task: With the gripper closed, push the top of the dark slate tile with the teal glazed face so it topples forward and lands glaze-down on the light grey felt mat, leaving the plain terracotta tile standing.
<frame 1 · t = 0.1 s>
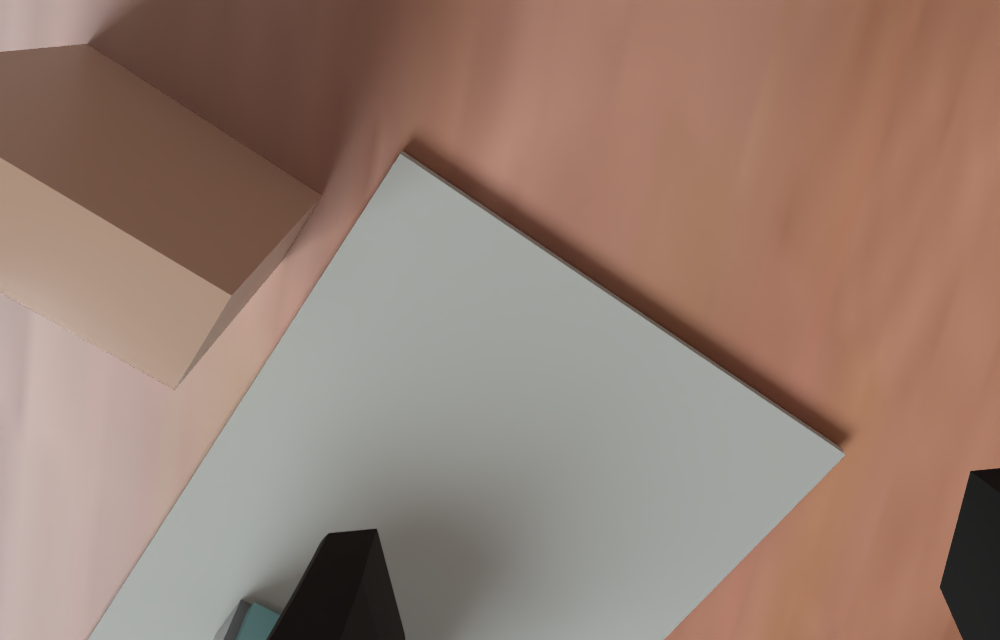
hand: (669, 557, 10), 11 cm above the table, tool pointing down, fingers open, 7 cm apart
plain tile: (189, 158, 18), on the table
felt mat: (423, 574, 23), on the table
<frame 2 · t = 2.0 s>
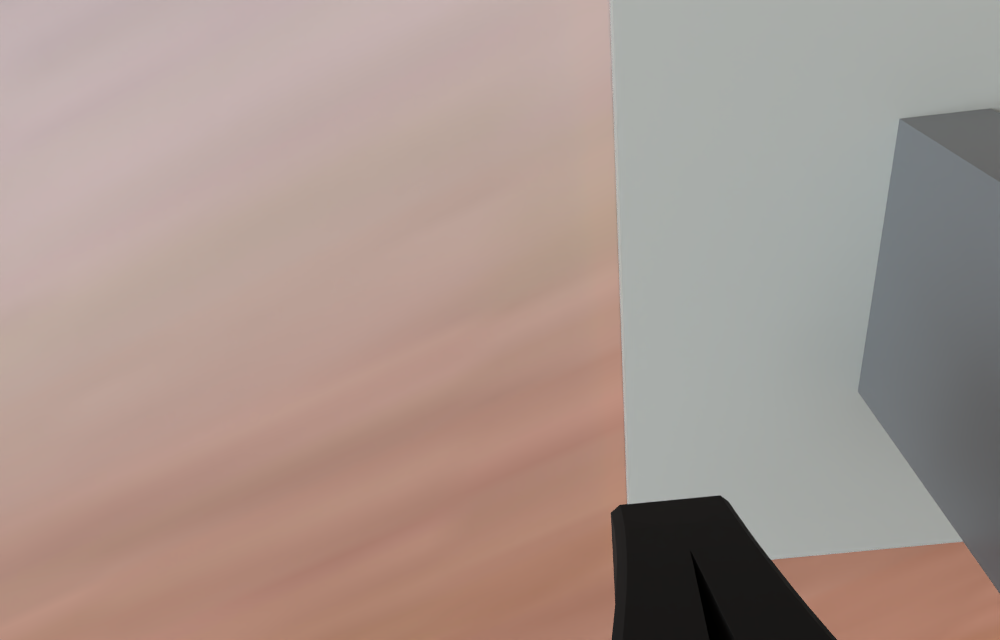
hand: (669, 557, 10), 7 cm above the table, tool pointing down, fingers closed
glazed tile: (927, 263, 15), resting on felt mat
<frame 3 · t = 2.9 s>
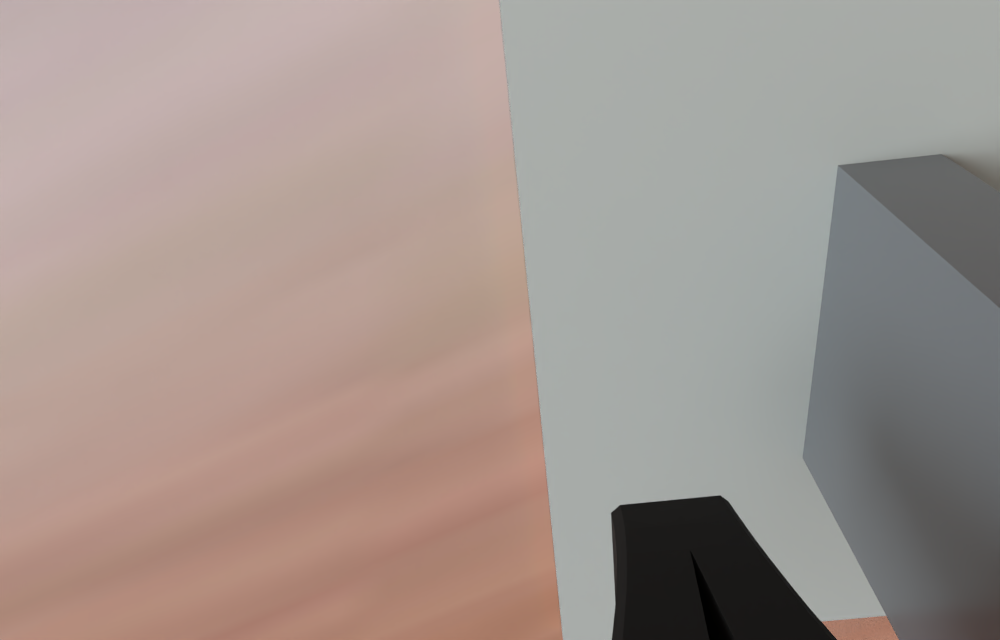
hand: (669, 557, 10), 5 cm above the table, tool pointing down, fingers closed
glazed tile: (875, 321, 14), resting on felt mat
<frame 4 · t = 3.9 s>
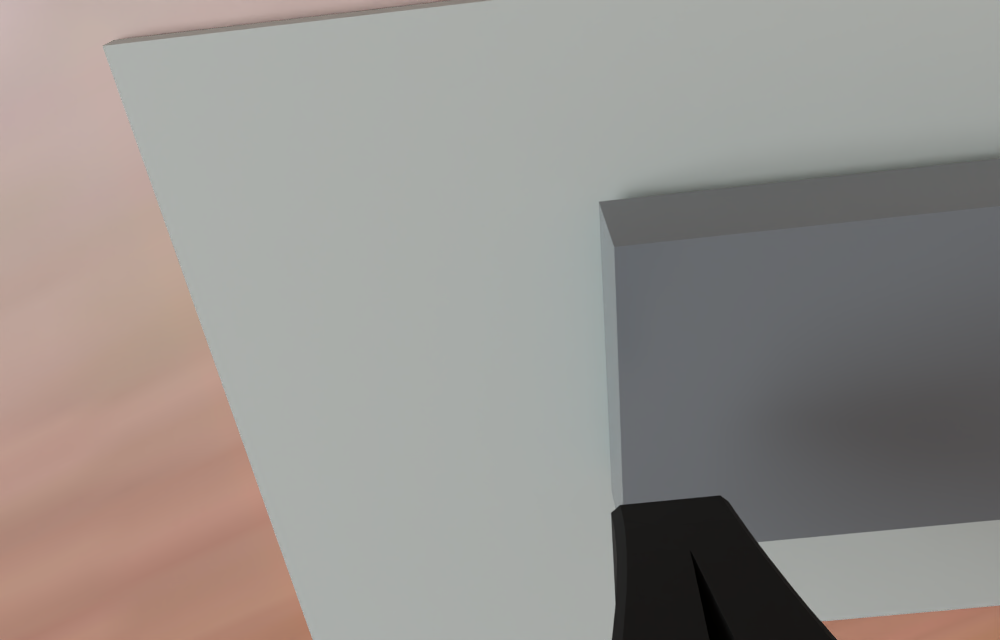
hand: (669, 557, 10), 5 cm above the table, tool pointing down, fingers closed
glazed tile: (610, 382, 13), point 1 cm above the table, tilted 90°, touching felt mat
felt mat: (770, 365, 15), on the table
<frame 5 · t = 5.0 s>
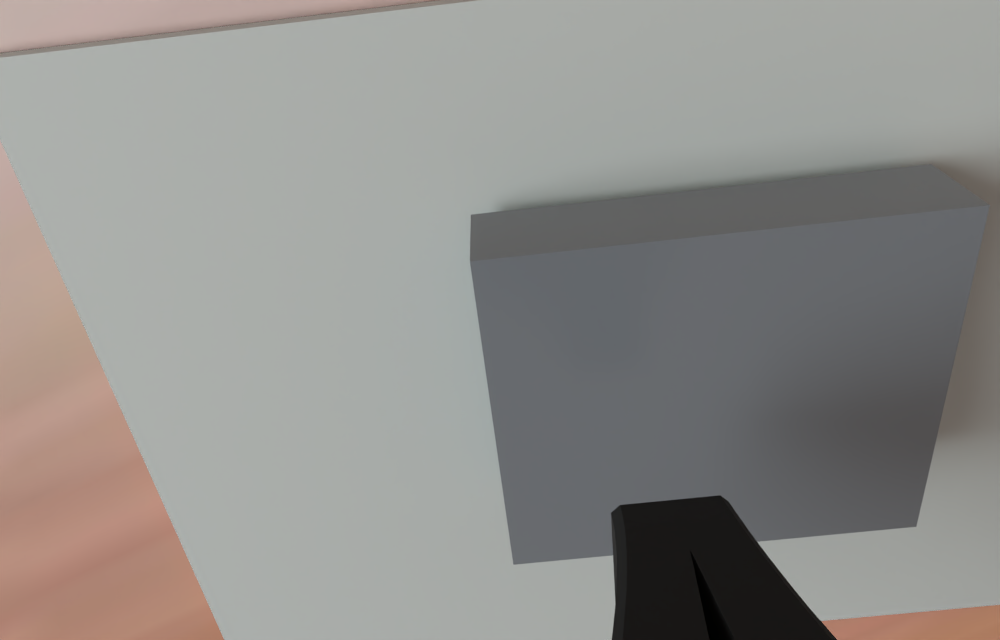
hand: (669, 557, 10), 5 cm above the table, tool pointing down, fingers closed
glazed tile: (493, 394, 13), point 1 cm above the table, tilted 90°, touching felt mat
felt mat: (664, 375, 15), on the table
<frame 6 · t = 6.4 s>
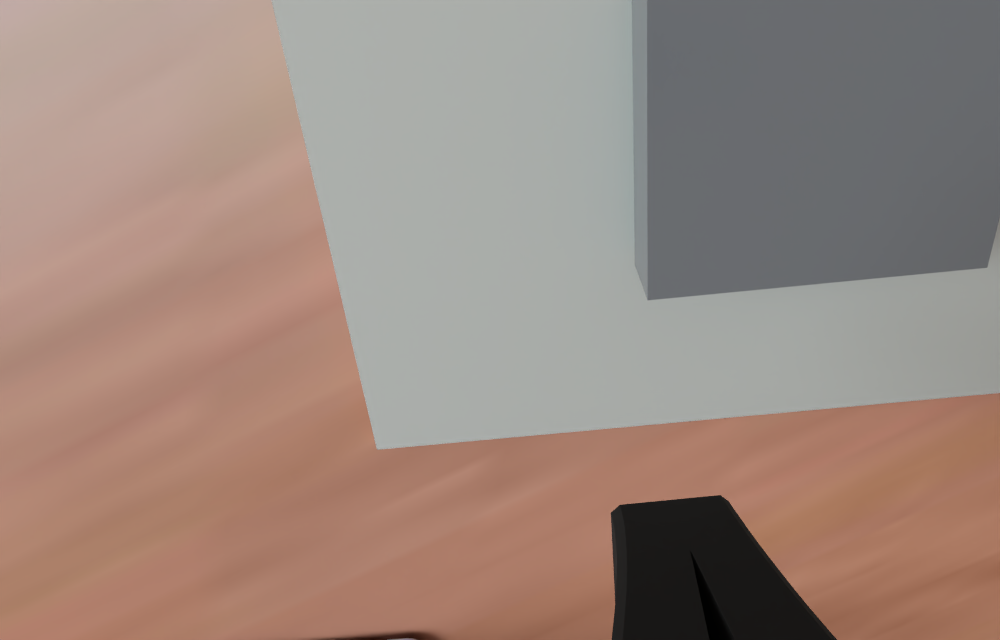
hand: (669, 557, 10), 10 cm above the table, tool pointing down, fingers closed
glazed tile: (638, 146, 16), point 1 cm above the table, tilted 90°, touching felt mat
felt mat: (770, 154, 17), on the table
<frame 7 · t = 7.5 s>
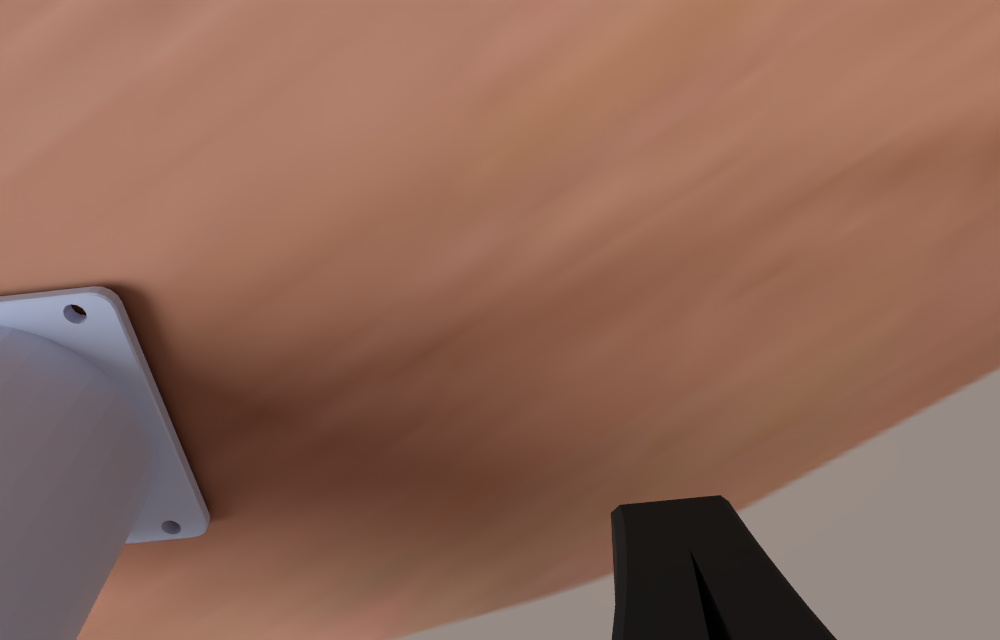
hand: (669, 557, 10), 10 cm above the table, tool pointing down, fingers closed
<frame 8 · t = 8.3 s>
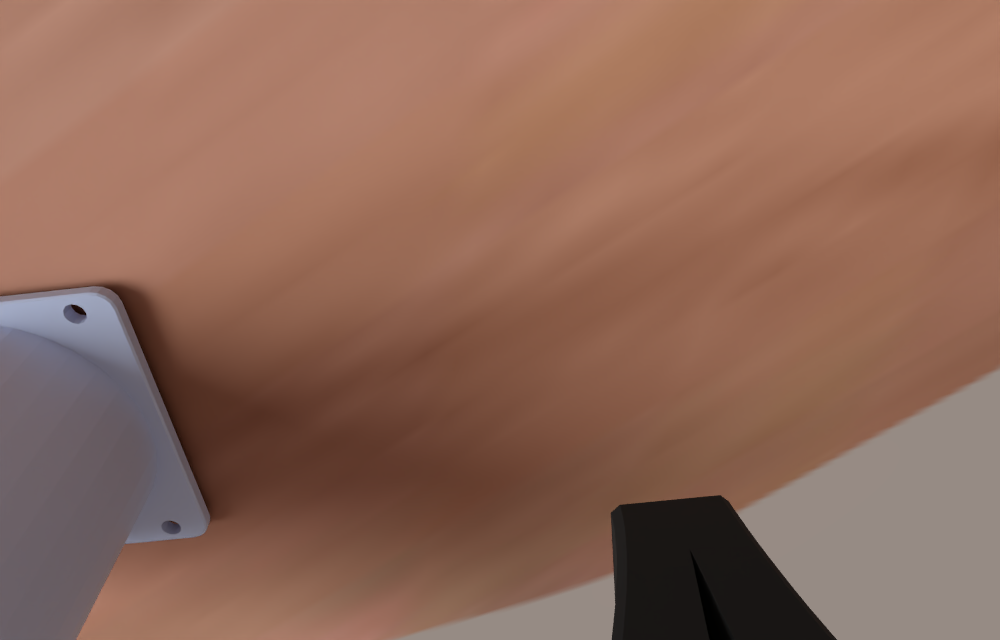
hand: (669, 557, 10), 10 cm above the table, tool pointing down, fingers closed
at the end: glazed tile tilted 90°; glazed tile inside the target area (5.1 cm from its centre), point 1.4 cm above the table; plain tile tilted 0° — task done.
